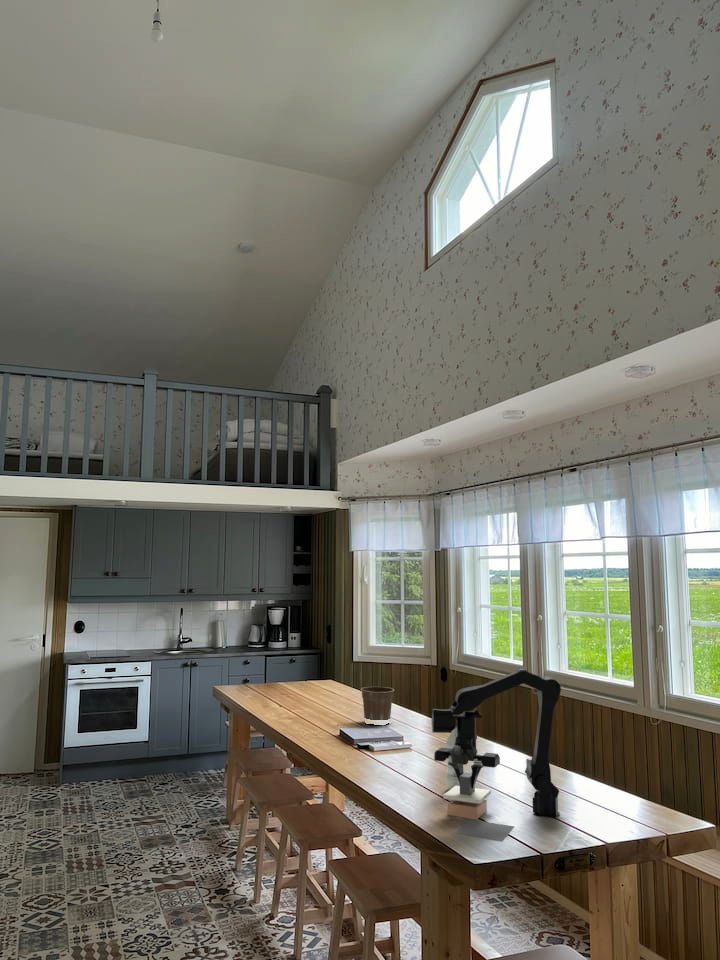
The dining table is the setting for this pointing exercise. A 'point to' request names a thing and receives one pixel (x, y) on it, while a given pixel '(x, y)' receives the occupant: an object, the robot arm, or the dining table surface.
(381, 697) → the plant pot
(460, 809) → the orange open box
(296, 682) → the dining table surface
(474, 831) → the mat
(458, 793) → the lid
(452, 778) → the plastic bottle
